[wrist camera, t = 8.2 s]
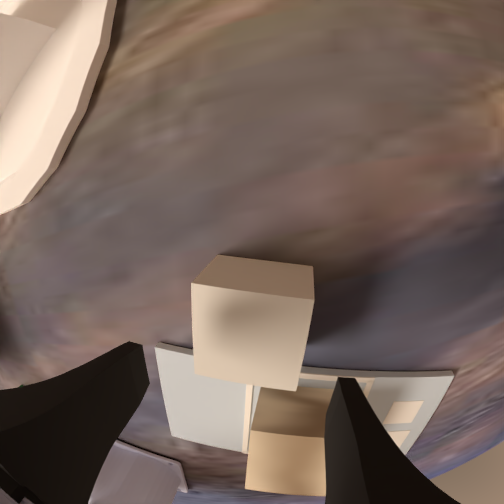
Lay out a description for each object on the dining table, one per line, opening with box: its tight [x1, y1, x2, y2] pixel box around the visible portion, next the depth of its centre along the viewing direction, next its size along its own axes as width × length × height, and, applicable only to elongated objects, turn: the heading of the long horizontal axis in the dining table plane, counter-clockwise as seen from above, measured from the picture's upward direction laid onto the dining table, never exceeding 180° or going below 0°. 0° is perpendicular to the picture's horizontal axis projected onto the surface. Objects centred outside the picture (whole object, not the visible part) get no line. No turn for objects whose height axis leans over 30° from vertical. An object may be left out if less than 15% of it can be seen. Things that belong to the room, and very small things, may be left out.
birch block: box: [245, 386, 334, 496], centre depth 16 cm, size 6×8×4 cm
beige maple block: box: [191, 255, 314, 391], centre depth 14 cm, size 5×5×4 cm
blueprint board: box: [155, 342, 454, 455], centre depth 18 cm, size 20×10×1 cm, turn 87°
